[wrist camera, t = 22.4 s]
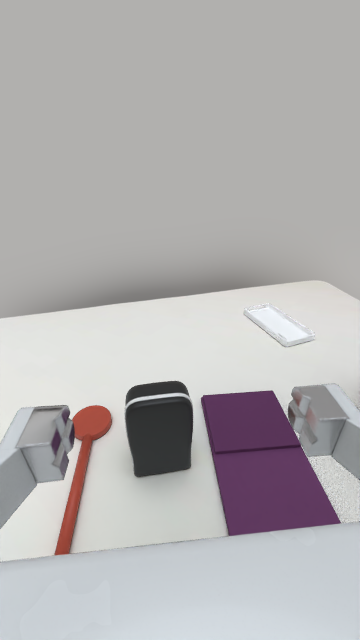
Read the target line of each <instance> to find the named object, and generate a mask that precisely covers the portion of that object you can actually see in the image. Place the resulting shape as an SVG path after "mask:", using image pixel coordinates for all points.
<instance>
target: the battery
mask: <svg viewBox="0 0 360 640" xmlns="http://www.w3.org/2000/svg"><path fill="white" fill-rule="evenodd" d="M125 426H126V433H127V438H128V442H129V447H130V451H131V455H132V461H133V471H134V474H135V476H145V475H151V474H158V473H165V472H170V471H176V470H182V469H187V468H190V466H191V443H192V432H193V405H192V401H191V399H190V397H189V393H188V390H187V388H186V386H185V385H184V384H183V383H181V382H179V381H168V382H158V383H150V384H143V385H137V386H134V387H132V388H131V389H130V390H129V391H128V393H127V395H126V407H125Z"/></svg>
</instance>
